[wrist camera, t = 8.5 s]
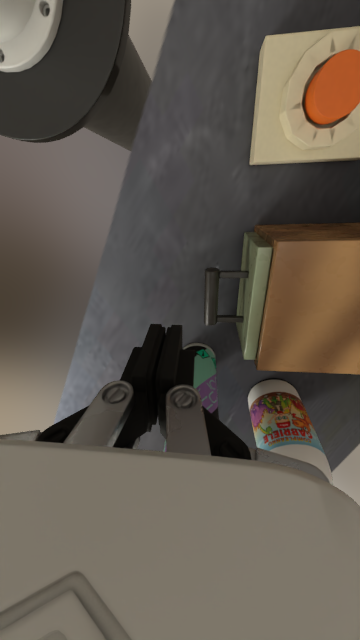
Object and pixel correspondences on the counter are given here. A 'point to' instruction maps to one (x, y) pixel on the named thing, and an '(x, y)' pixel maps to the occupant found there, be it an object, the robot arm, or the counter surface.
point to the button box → (300, 101)
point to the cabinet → (312, 299)
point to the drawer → (243, 292)
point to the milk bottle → (285, 424)
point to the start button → (334, 88)
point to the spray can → (205, 377)
